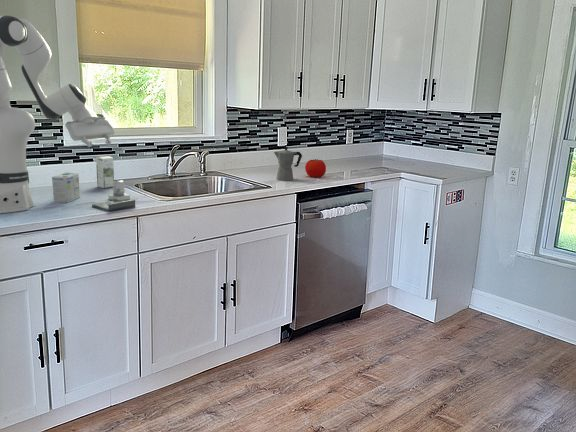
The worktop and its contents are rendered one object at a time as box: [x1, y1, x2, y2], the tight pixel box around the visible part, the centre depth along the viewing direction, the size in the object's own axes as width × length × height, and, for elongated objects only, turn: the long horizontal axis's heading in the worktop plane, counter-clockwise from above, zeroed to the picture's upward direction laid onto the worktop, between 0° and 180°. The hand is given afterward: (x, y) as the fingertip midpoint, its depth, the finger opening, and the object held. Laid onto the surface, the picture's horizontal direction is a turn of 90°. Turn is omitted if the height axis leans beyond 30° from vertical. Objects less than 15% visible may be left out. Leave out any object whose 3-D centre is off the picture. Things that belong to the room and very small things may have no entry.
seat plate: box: [92, 198, 136, 213], centre depth 218 cm, size 12×12×3 cm
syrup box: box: [95, 155, 115, 189], centre depth 252 cm, size 6×6×14 cm
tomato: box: [304, 158, 327, 178], centre depth 302 cm, size 12×12×10 cm
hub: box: [107, 179, 131, 201], centre depth 231 cm, size 6×6×8 cm
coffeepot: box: [273, 146, 303, 182], centre depth 290 cm, size 15×9×18 cm, turn 86°
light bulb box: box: [51, 172, 81, 204], centre depth 226 cm, size 11×7×11 cm, turn 174°
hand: (100, 144), depth 233 cm, fingers open, 8 cm apart
